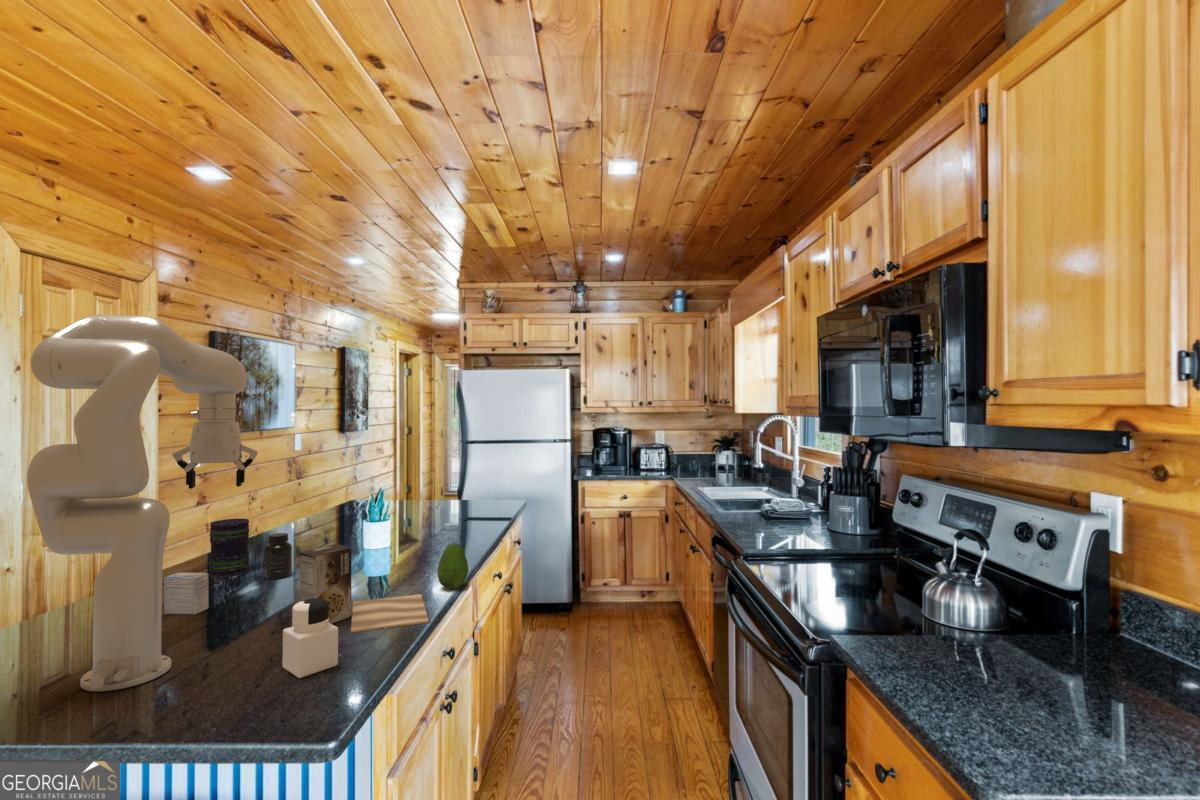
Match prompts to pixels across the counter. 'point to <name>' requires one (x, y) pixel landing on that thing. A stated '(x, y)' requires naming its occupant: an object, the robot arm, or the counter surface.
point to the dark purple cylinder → (229, 547)
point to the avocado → (452, 567)
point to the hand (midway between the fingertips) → (215, 487)
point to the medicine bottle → (310, 639)
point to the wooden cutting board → (388, 613)
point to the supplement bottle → (278, 557)
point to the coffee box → (328, 579)
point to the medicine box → (186, 593)
